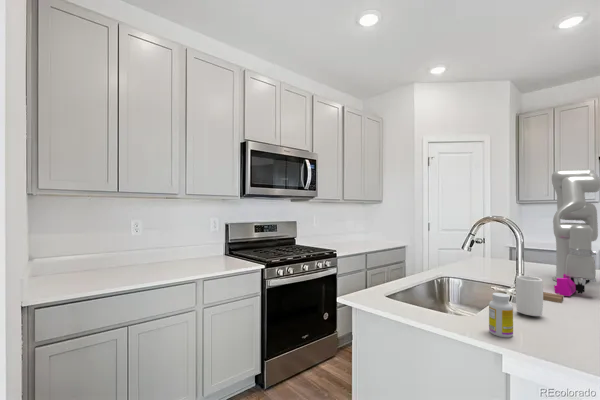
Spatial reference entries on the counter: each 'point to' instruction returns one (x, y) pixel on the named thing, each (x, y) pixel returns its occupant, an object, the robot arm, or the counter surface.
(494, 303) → the supplement bottle
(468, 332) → the counter surface
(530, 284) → the cup
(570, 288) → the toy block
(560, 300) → the plank
